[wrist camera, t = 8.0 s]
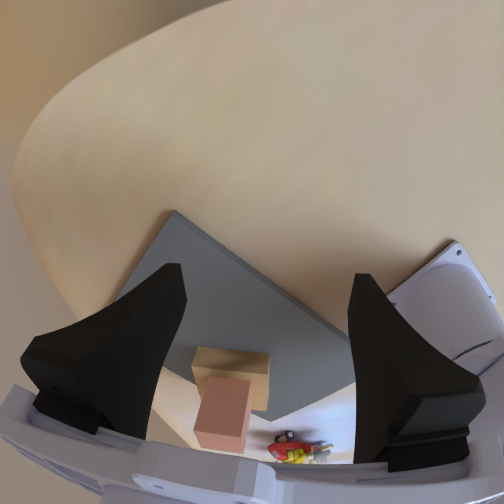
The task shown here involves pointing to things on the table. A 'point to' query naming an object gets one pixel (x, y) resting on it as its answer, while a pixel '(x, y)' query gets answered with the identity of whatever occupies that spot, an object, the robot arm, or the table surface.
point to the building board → (246, 320)
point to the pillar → (224, 414)
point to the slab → (234, 371)
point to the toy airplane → (298, 450)
